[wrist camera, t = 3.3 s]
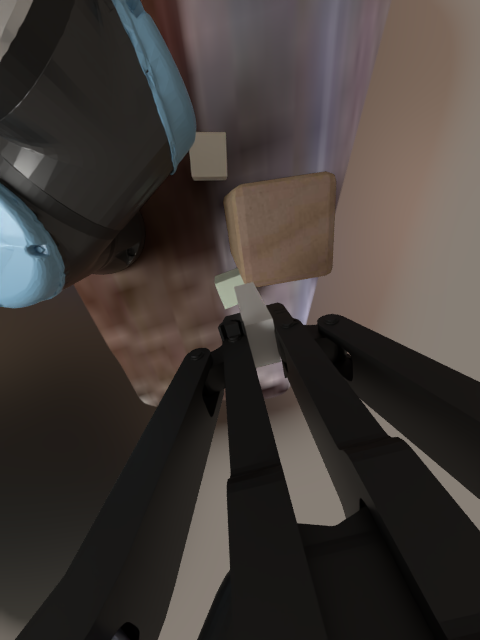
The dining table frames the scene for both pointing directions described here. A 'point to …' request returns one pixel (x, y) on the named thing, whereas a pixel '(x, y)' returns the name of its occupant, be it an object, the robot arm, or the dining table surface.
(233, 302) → the sage cube
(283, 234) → the wooden block
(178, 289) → the dining table surface
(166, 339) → the dining table surface
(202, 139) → the cream cube
